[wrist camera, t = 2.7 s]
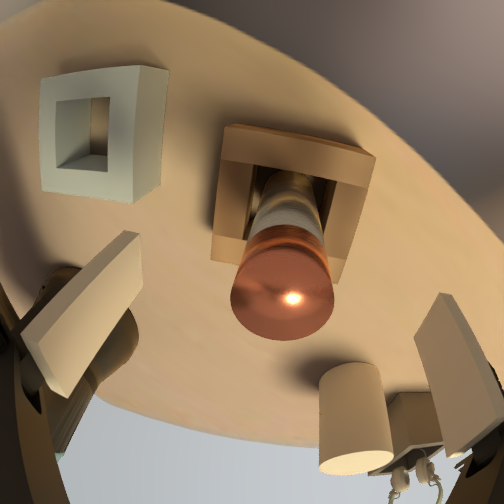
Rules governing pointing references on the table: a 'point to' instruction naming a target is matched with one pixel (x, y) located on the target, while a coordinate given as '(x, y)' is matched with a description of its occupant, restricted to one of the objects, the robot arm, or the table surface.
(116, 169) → the frame
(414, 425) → the box
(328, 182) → the mount
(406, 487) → the headphones
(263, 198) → the pin
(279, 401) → the table surface
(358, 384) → the cream cylinder
